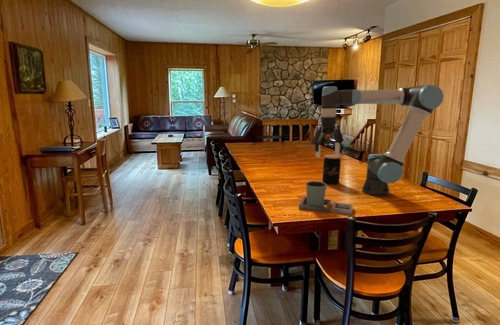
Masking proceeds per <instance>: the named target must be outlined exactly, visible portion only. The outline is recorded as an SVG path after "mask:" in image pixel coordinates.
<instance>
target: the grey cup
mask: <svg viewBox="0 0 500 325" xmlns="http://www.w3.org/2000/svg"><path fill="white" fill-rule="evenodd" d="M305 183H306V184H305V185H306V186H305V187H306V197H307V201H306V205H308V206H316V207H325V203H324V199H326V197H325V196H326V190H327V184H325V183H323V181H318V180H317V181H316V180H315V181H314V180H312V181H308V182H305Z"/></svg>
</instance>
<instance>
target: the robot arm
mask: <svg viewBox="0 0 500 325" xmlns="http://www.w3.org/2000/svg"><path fill="white" fill-rule="evenodd" d="M443 101H444V92H443V90H442V89H441V88H440V87H439V86H437V85H436V84H435V85H434V84H426V85H425V84H423V85H414V86H411V87H410V86H409V87H400V88H398V89H370V90H369V89H363V90H362V89H341V90H339V89H338V87H337V86H336V85H335V86H334V85H333V86H332V85H331V86H323V88H322V90H321V116H322V117H321V121H320V122H321V126H319V125H318V126H317V127H316V131H315V134H314V137H313V139H312V142H311V144H312V145H314V151H315V158H318V159H319V158H321V145H320V144H321V142H322V141H323V140H324V138H325V136H327V135H331V136H332V137H333V139H334V141H335V142H334V155H339V156H340V149H341V144H342V143H343V142H344V138H343V135H342V132H341V126H340V125H339V124H336V123H337V105H338V106H339V105H342V106H343V105H344V106H345V105H349V106H350V105H352V106H353V105H372V104H373V105H377V104H378V105H384V104H385V105H387V104H388V105H391V104H392V105H393V104H394V105H397V106H398V107H399V106H405V107H407V108H408V112H407V114H406V116H405V118H404V120H403V121H402V123H401V125H400V127H399V129H398V131H397V133H396V135H395V137H394V138H393V141H392V142H391V144H390V147H389V148H388V150H387V151H386V152H383V153H370V154H368V156H367V165H366V177H365V181H364V182H363V185H362V189H361V191H362V193H364V194H367V195H369V196H377V197H385V196H388V195H390V191H391V190H390V189H391V188H390V186H389V184H394V183H396V182H398V181H400V179H401V178H402V176H403V173H404V171H403V170H404V169H403V167H404V165H405V164H406V163H405V160H404V158H405V156H406V154H407V153H408V151H409V149H410V147H411V145H412V143H413V141H414V140H415V138H416V136H417V134H418V132H419V130H420V129H421V126H422V125H423V123H424V121H425V120H426V118H427V117H429V116H431V115H432V113H433V111H434V110H435V109H437V108H438V107H440V106H441V105H442V103H443Z"/></svg>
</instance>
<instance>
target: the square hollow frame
mask: <svg viewBox="0 0 500 325" xmlns="http://www.w3.org/2000/svg"><path fill="white" fill-rule="evenodd" d="M306 202H307V196H304V197H302V199H301V201H300V203H299V205H298V210H303V211H311V212H319V213H320V212H321V213H327V214H328V213H329V212H330V208H331V204H332V199H326V198H324V205H325V204H326V207H325V206H324V207H316V206H308V205H307V204H306V205H305V203H306Z"/></svg>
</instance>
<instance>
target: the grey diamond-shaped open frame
mask: <svg viewBox="0 0 500 325" xmlns="http://www.w3.org/2000/svg"><path fill="white" fill-rule="evenodd" d="M353 206H354V205H353V204H349V203H339V202H333V203H332V207H331V213H334V214H342V215H348V216H349V215H353V209H354V208H353Z"/></svg>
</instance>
